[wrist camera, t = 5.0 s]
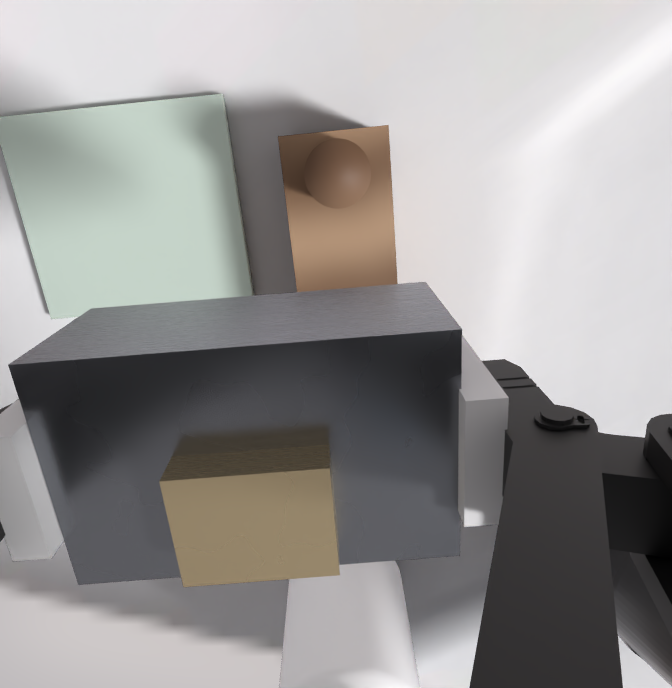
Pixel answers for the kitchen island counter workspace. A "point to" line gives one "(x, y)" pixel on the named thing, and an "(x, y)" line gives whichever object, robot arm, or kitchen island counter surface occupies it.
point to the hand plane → (340, 208)
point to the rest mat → (129, 203)
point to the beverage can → (349, 630)
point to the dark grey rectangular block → (250, 434)
